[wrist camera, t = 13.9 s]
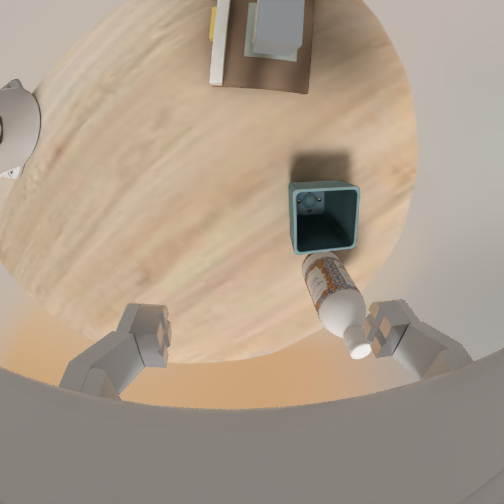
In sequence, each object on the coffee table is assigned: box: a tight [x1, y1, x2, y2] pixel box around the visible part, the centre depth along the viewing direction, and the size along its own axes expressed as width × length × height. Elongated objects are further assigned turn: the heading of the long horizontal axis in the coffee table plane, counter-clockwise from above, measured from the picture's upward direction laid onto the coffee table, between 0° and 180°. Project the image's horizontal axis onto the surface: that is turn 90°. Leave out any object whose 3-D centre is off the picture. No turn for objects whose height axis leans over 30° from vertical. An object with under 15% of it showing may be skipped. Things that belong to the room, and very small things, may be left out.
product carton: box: [252, 0, 305, 57], centre depth 24 cm, size 5×8×7 cm
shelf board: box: [212, 0, 314, 94], centre depth 28 cm, size 13×18×2 cm
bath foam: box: [302, 251, 372, 359], centre depth 39 cm, size 7×7×20 cm
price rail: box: [209, 0, 231, 86], centre depth 25 cm, size 2×18×3 cm, turn 176°
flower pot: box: [289, 180, 360, 255], centre depth 37 cm, size 9×9×9 cm
